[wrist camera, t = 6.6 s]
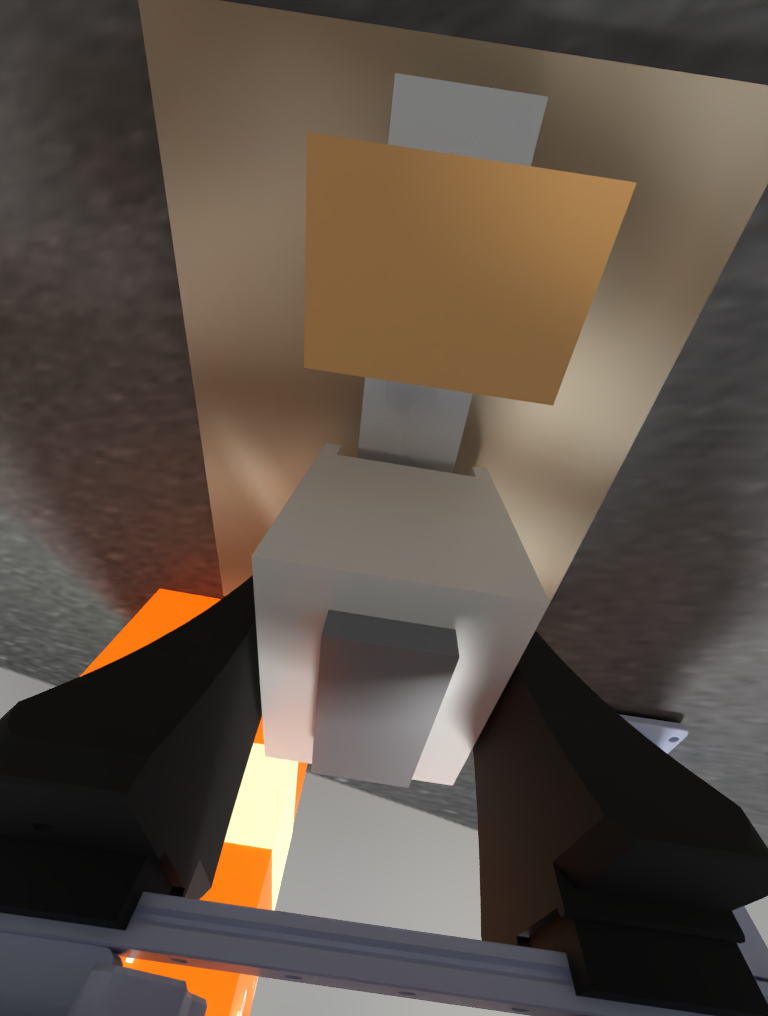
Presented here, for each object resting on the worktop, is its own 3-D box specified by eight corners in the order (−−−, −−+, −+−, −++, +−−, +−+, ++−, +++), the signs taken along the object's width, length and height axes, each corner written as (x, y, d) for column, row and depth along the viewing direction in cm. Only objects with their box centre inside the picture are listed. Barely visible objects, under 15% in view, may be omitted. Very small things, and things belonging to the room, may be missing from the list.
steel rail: (413, 607, 15) (413, 625, 14) (345, 597, 15) (341, 615, 14) (532, 120, 8) (548, 96, 7) (396, 100, 8) (395, 72, 7)
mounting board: (524, 623, 16) (530, 641, 16) (233, 580, 16) (223, 595, 16) (770, 116, 8) (815, 92, 7) (166, 22, 8) (136, -14, 7)
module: (438, 620, 14) (455, 813, 9) (316, 601, 14) (256, 782, 9) (487, 468, 11) (563, 631, 5) (325, 442, 11) (235, 579, 5)
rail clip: (511, 376, 9) (552, 405, 6) (336, 350, 9) (304, 368, 6) (556, 228, 7) (636, 182, 5) (344, 195, 7) (306, 131, 5)
